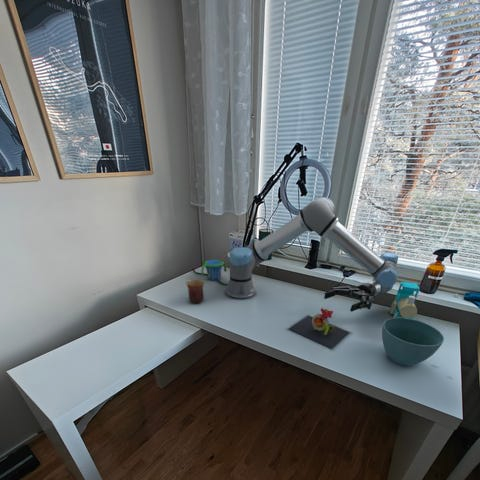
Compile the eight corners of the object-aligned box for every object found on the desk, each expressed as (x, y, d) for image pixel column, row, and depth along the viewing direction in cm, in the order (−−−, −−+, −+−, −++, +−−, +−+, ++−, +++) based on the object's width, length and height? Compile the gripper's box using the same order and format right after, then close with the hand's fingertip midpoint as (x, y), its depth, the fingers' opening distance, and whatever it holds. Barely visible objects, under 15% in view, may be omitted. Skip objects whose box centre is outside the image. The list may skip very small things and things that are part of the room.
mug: (203, 305, 132) (202, 286, 127) (186, 304, 132) (184, 285, 127) (207, 295, 142) (206, 276, 137) (190, 294, 142) (189, 276, 137)
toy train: (393, 326, 117) (405, 295, 109) (389, 310, 130) (399, 281, 123) (414, 330, 114) (427, 298, 107) (407, 312, 128) (418, 283, 120)
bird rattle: (311, 337, 112) (332, 336, 106) (305, 312, 109) (326, 310, 103) (317, 331, 116) (338, 330, 110) (311, 307, 113) (332, 305, 107)
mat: (288, 329, 114) (288, 328, 114) (308, 316, 124) (308, 315, 124) (331, 349, 102) (331, 348, 102) (349, 332, 112) (349, 332, 112)
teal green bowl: (369, 362, 95) (379, 333, 89) (378, 338, 108) (387, 312, 102) (428, 382, 87) (444, 352, 81) (430, 354, 100) (444, 326, 94)
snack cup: (204, 283, 156) (203, 266, 151) (199, 277, 165) (198, 261, 159) (229, 279, 161) (229, 263, 156) (223, 273, 170) (223, 258, 164)
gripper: (391, 308, 115) (361, 322, 105) (343, 289, 133) (314, 298, 122) (397, 293, 111) (366, 305, 101) (346, 274, 129) (316, 283, 119)
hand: (337, 301), depth 112 cm, fingers open, 13 cm apart
